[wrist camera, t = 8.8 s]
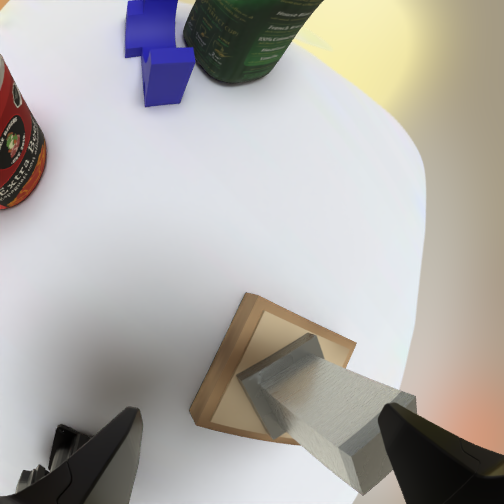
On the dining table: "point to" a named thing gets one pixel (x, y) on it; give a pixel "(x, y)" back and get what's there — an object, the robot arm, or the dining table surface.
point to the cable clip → (158, 50)
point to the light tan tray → (249, 353)
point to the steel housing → (324, 410)
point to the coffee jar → (244, 34)
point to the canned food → (17, 143)
